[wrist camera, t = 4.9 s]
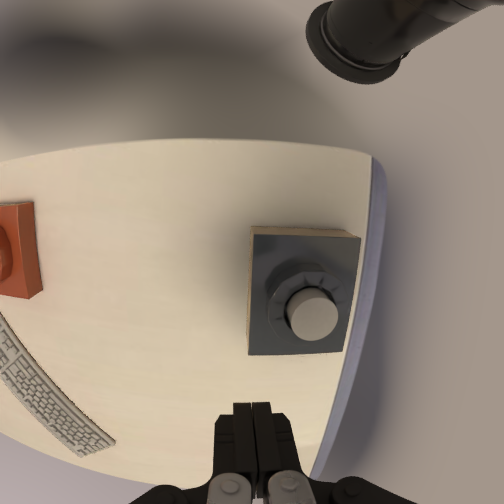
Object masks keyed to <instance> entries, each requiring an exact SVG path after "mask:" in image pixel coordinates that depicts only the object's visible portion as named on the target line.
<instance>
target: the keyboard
mask: <svg viewBox="0 0 504 504" xmlns="http://www.w3.org/2000/svg"><path fill="white" fill-rule="evenodd" d="M0 378H1V380H2V381H3V382H4V383H5V385H6V386H7V387H8V388H9V389H10V391H11V392H12V393H13V394H14V395H15V396H16V398H17V399H18V400H19V401H20V402H21V403H22V404H23V405H24V406H25V408H26V409H27V410H28V411H29V412H30V413H31V414H32V415H33V416H34V417H35V418H36V419H37V420H38V421H39V422H40V423H41V424H42V425H43V426H44V427H45V428H46V429H47V430H48V431H49V432H51V433H52V434H53V435H54V436H55V437H56V438H57V439H58V440H59V441H61V442H62V443H63V444H64V445H65V446H66V447H68V448H69V449H70V450H71V451H72V452H74V453H75V454H76V455H77V456H78V457H84V456H87V455H90V454H93V453H95V452H98V451H101V450H104V449H106V448H109V447H111V446H114V445H115V444H116V442H115V441H114V440H113V439H112V438H110V437H109V436H108V435H107V434H106V433H104V432H103V431H102V430H101V429H100V428H99V427H98V426H96V425H95V424H94V423H93V422H92V421H91V420H90V419H89V418H88V417H87V416H85V415H84V414H83V413H82V412H81V411H80V410H79V409H78V408H77V407H76V406H75V405H74V404H73V403H72V402H71V401H70V400H69V399H68V398H67V397H66V396H65V395H64V394H63V393H62V392H61V391H60V389H59V388H58V387H57V386H56V385H55V384H54V383H53V382H52V381H51V380H50V378H49V377H48V376H47V375H46V374H45V373H44V372H43V370H42V369H41V368H40V367H39V366H38V364H37V363H36V362H35V361H34V359H33V358H32V357H31V356H30V354H29V353H28V352H27V350H26V349H25V348H24V346H23V345H22V344H21V342H20V341H19V340H18V338H17V337H16V336H15V334H14V333H13V331H12V330H11V328H10V327H9V325H8V324H7V322H6V321H5V319H4V318H3V316H2V315H1V313H0Z"/></svg>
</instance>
